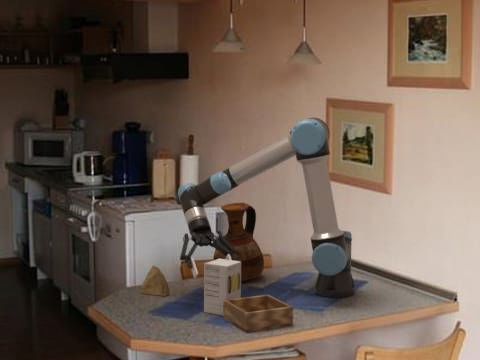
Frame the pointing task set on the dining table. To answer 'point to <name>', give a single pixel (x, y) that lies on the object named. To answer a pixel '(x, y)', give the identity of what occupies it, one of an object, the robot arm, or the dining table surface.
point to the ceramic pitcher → (243, 240)
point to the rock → (155, 283)
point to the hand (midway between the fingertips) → (214, 274)
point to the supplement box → (221, 284)
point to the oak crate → (257, 313)
